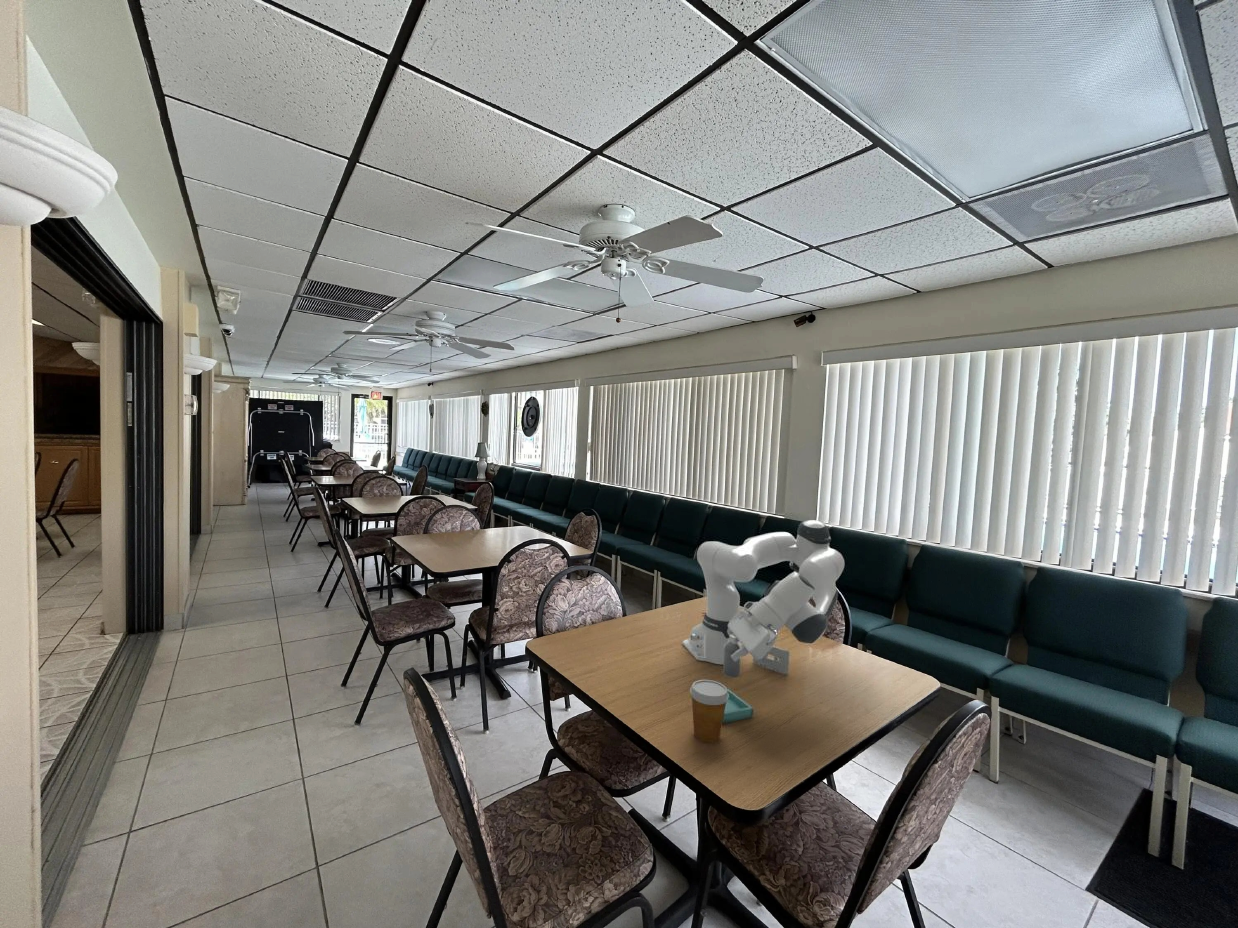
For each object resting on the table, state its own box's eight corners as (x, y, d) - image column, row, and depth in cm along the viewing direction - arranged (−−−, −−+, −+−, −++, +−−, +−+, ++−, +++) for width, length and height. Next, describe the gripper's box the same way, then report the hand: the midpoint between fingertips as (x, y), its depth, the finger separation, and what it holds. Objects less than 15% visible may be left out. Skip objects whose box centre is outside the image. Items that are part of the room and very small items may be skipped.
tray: (696, 701, 141) (697, 692, 141) (725, 695, 145) (726, 687, 145) (722, 723, 130) (722, 714, 130) (752, 716, 134) (753, 708, 134)
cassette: (752, 663, 169) (753, 641, 169) (754, 662, 170) (755, 639, 170) (786, 675, 161) (788, 652, 161) (788, 673, 163) (790, 650, 162)
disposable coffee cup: (720, 724, 129) (723, 679, 129) (730, 746, 120) (733, 697, 119) (684, 723, 129) (687, 677, 128) (691, 745, 119) (694, 696, 119)
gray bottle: (719, 671, 138) (721, 634, 138) (732, 668, 140) (734, 632, 140) (729, 677, 134) (731, 640, 134) (742, 675, 136) (744, 638, 136)
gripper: (788, 642, 127) (749, 679, 127) (759, 614, 148) (725, 647, 147) (772, 624, 127) (733, 662, 126) (745, 599, 147) (711, 632, 147)
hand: (728, 654), depth 137 cm, fingers closed on gray bottle, 4 cm apart
